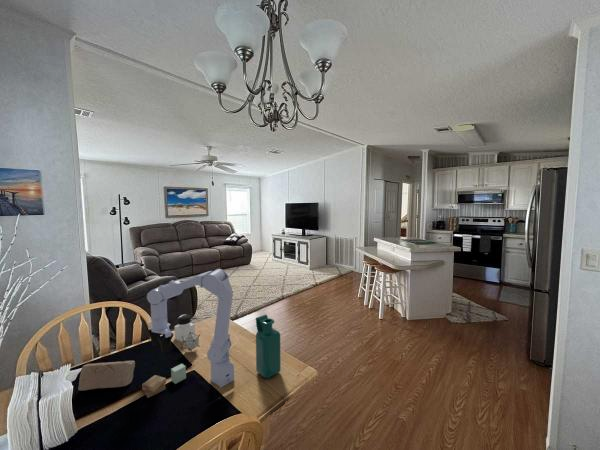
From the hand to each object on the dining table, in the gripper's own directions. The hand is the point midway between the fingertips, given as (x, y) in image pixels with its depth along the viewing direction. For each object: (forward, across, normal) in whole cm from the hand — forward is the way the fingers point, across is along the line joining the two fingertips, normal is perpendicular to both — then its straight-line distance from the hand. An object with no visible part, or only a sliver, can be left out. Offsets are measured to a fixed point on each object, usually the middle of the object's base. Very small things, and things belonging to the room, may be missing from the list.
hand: (160, 348), depth 106 cm
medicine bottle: (+11, +19, -21) cm, 30 cm away
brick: (+11, +8, +16) cm, 21 cm away
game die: (+11, +5, -16) cm, 20 cm away
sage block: (+10, -10, -2) cm, 14 cm away
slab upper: (+9, -8, +6) cm, 14 cm away
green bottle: (+11, -34, -27) cm, 45 cm away
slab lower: (+11, -8, +6) cm, 15 cm away
